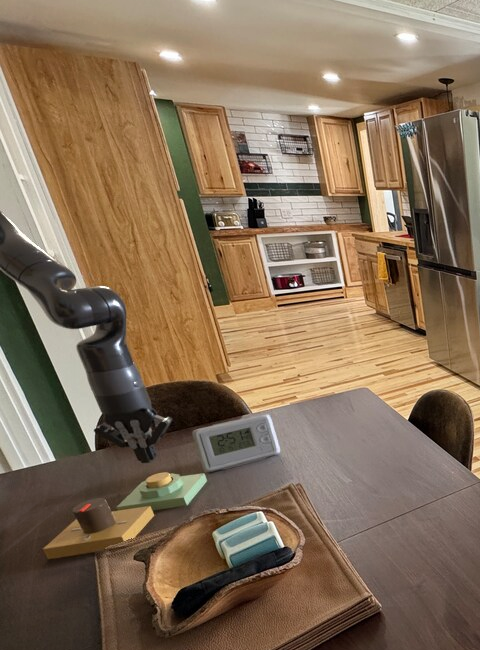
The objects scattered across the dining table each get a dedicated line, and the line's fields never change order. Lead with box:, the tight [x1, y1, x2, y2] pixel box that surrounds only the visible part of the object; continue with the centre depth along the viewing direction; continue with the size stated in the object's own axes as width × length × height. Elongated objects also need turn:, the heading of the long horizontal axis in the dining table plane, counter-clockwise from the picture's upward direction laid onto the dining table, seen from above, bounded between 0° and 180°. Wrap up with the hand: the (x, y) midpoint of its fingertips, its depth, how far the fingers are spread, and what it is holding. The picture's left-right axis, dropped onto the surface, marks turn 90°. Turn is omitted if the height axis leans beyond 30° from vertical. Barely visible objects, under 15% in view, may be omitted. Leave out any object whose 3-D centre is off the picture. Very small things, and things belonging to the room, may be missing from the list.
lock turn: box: [72, 497, 116, 533], centre depth 92 cm, size 5×5×5 cm
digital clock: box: [191, 413, 281, 473], centre depth 119 cm, size 16×9×11 cm, turn 116°
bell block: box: [115, 473, 208, 512], centre depth 106 cm, size 12×10×4 cm
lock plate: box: [42, 506, 155, 560], centre depth 94 cm, size 12×10×3 cm
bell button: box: [145, 471, 172, 489], centre depth 105 cm, size 4×4×2 cm
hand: (148, 461), depth 102 cm, fingers closed
